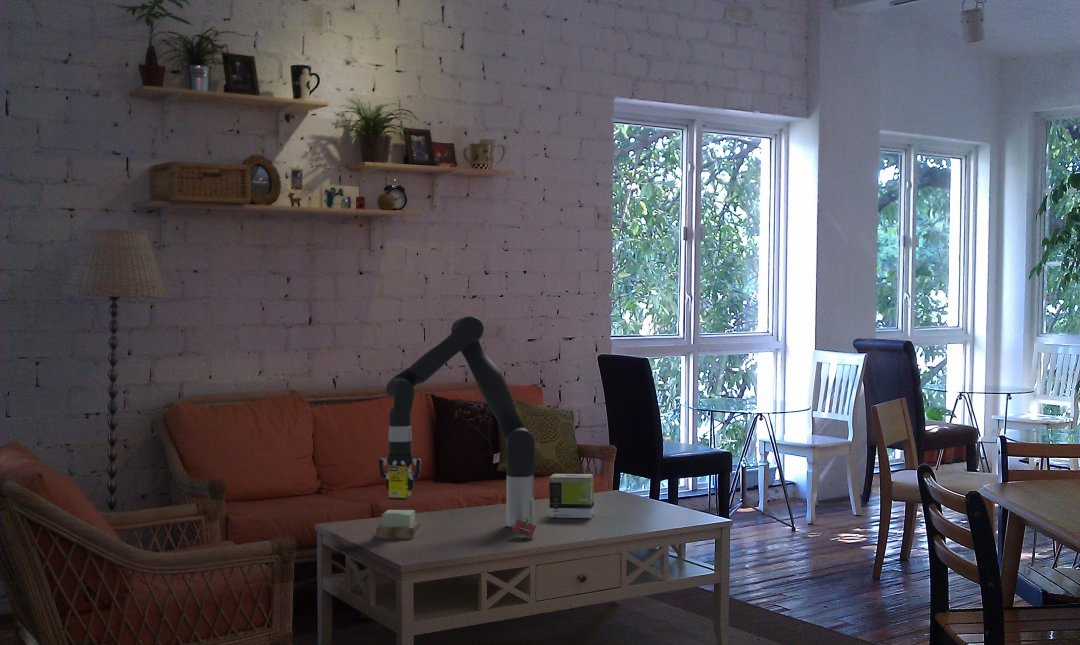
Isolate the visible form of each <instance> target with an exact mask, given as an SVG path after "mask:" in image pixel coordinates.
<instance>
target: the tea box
mask: <svg viewBox="0 0 1080 645" xmlns="http://www.w3.org/2000/svg"><path fill="white" fill-rule="evenodd" d="M548 485H549V486H548V491H549V494H548V495H549V497H548V498H549V503H548V504H549V506H548V508H549V518H554V517H556V519H557V518H558V519H559V518H560V519H561V518H565V519H569V518H570V519H591V518H592V517H593V516H594V514H595V491H594V490H595V487H594V474H593V473H553V474H551V475H550V476H549V477H548ZM592 515H593V516H592Z"/></svg>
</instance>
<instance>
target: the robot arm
mask: <svg viewBox="0 0 1080 645" xmlns="http://www.w3.org/2000/svg"><path fill="white" fill-rule="evenodd" d="M450 328H451V331H450V332H451V333H450V334H449V335H448V336H447V337H446V338H445V339H444V340H443V341H441V342H439V343H438V344H437V345H435V346H433V347H432V348H431V349H430V350H428V351H427V352H426V353H425V354H423V355H422V356H421V357H420V358H418V359H417V360H416V361H414V362H413V363H412V364H411V365H410V366H409V367H408V368H406V369H404V370H402V371H401V372H400V373H398V374H396V375H395V376H394V377H392V378H391V379H390V380H389V382H388V383H387V385H386V391H385V392H386V395H387V396H388V398H390V399H392V400H393V407H392V408H391V409H390V410H389V413H388V414H389V415H388V416H389V418H388V420H389V421H388V424H389V426H388V436H387V437H388V438H387V439H388V454H387V458H383V457H382V458H380V459H379V460H378V468H379V476H380V478H382V479H383V478H384V479H385V488H386V490H387V491H388V492H389V470H388V472H387V473H386V466H385V465H386V464H387V463H388V465H389V466H408V467H409V466H410V465H411V466H412V463H413V464H414V466H415V472H413V470H412V468H411V469H410V470H409V468H408V476H409V478H410V479H409V491H411V492H412V491H413V490H414V488H415V479H417V478H420V475H421V469H422V468H421V467H422V459H421V458H418V459H417V458H414V457H413V454H412V453H413V452H412V450H413V448H412V447H413V446H412V445H413V444H412V441H413V438H412V437H413V436H412V435H413V434H412V415H411V414H412V409H413V404H414V399H415V386H417V385H421V384H424V383H425V382H427V380H429V379H430V378H431V377H432V376H433V375H435V373H436V372H437V371H439V370H440V369H441V368H442V367H444V365H445V364H447V362H449V361H450V359H453V357H454V356H455V355H457V354H458V353H460V352H461V354H462V356H463V357H464V359H465V361H466V363H467V364H468V368H469V369H470V371H471V374H472V376H473V378H474V380H475V383H476V384H477V387H478V388H479V391H480V393H481V395H482V397H483V399H484V400H485V402H486V405H487V406H488V408H489V410H490V411H491V413H492V414H493V416H494V417H495V419H496V421H497V423H498V425H499V428H500V430H501V433H502V436H503V439H504V442H505V444H506V447H507V464H506V465H507V466H506V527H509V528H512V529H513V528H514V527H513V523H514V521H516V519H519V520H522V521H524V522H526V520H524V519H527V518H528V519H529V521H530V524H533V525H534V524H535V494H534V493H535V492H534V489H535V488H534V486H535V485H534V484H535V483H534V481H535V480H534V476H535V475H534V470H535V462H536V461H535V460H536V458H535V457H536V454H535V453H536V452H535V451H536V442H535V438H534V435H533V434H532V433H531V432H530V431H529V429H527V428H526V426H525V424H524V423H523V421H522V419H521V417H520V416H519V414H518V412H517V410H516V406H515V403H514V399H513V396H512V393H511V390H510V387H509V386H508V383H507V381H506V379H505V377H504V375H503V373H502V371H501V370H500V369H499V368H498V366H497V365H496V363H494V362H493V361H492V360H491V358H490V357H489V356H488V355H487V354H486V352H485V350H484V349H483V346H482V344H481V342H480V339H481V338H482V337H483V334H484V328H485V327H484V324H483V322H482V321H481V319H480V318H478V317H477V316H473V315H467V316H463V317H461V318H458V319H457V320H456V321H454V322H453V323H452V325H451V327H450ZM529 521H528V523H529ZM532 522H533V523H532Z"/></svg>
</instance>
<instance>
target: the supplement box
mask: <svg viewBox="0 0 1080 645" xmlns="http://www.w3.org/2000/svg"><path fill="white" fill-rule="evenodd" d="M408 468H409V470H410V469H411V470H412V464H411V465H410V466H409V467H408V466H390V465H389V466H388V471H389V491H388V500H392V501H406V500H408V499H411V498H412V491H409V479H410V478H409V476H408Z"/></svg>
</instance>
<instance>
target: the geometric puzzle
mask: <svg viewBox="0 0 1080 645" xmlns="http://www.w3.org/2000/svg"><path fill="white" fill-rule="evenodd" d="M524 520H526V522H524V521H522V520H519V519H516V521H514V523H513V527H514V528H513V527H512V532H513V533H514V534H515V535H517V534H518V538H520V540H523V539H528V538H529V539H532V538H533V536H534V533H535V530H536V528H537V525H536V524H535V523H534V525H533V524H530V521H529V519H528V518H527V519H524ZM528 521H529V523H528ZM532 523H533V522H532Z"/></svg>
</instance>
